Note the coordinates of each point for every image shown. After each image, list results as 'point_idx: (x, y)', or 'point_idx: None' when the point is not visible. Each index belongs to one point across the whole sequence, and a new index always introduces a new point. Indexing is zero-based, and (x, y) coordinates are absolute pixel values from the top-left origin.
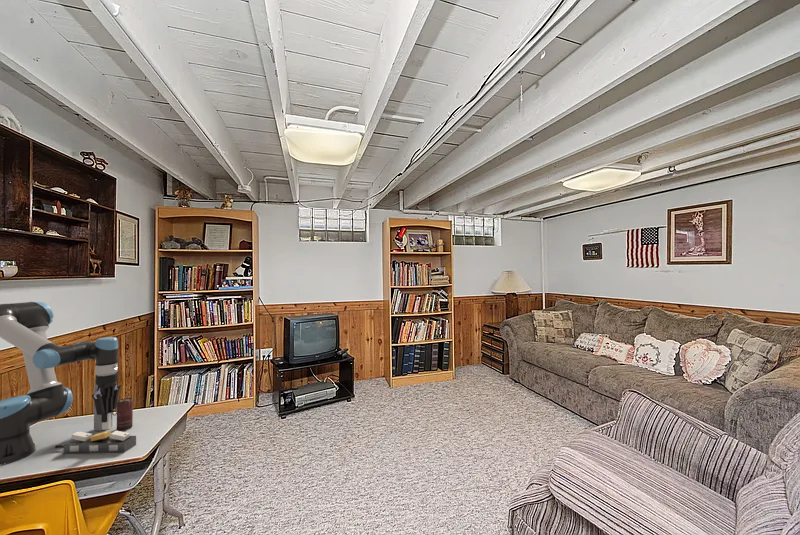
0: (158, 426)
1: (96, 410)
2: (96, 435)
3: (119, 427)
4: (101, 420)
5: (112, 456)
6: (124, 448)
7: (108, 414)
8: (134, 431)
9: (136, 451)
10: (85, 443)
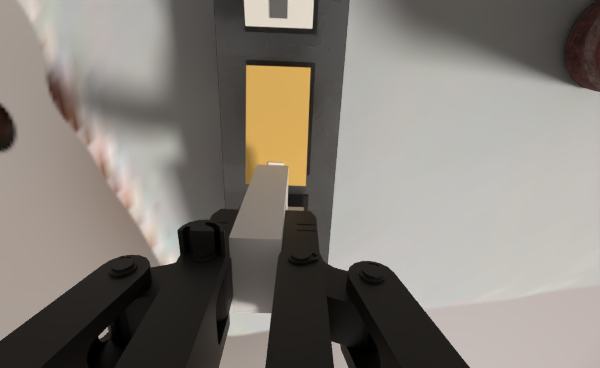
0: (556, 242)
1: (39, 318)
2: (254, 113)
3: (585, 34)
4: (210, 219)
5: None
6: None
7: (232, 308)
8: (520, 147)
9: None
10: (225, 47)
